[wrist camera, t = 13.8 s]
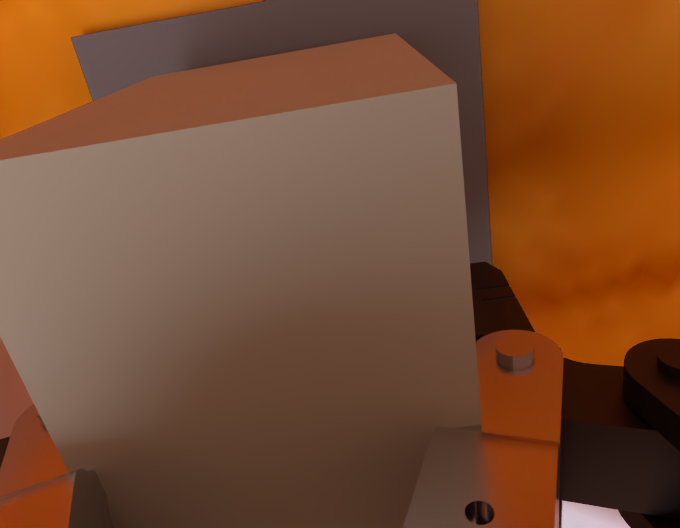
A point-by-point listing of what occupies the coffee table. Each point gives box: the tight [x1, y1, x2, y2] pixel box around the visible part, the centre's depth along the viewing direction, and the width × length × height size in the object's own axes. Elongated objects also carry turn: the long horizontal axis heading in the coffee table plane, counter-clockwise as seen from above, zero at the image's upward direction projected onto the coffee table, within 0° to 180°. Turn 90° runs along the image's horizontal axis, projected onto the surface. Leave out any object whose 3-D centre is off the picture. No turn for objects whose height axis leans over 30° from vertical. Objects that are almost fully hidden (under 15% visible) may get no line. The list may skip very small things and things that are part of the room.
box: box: [0, 33, 482, 528], centre depth 10 cm, size 5×10×7 cm, turn 10°
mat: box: [71, 0, 492, 265], centre depth 15 cm, size 9×12×1 cm
